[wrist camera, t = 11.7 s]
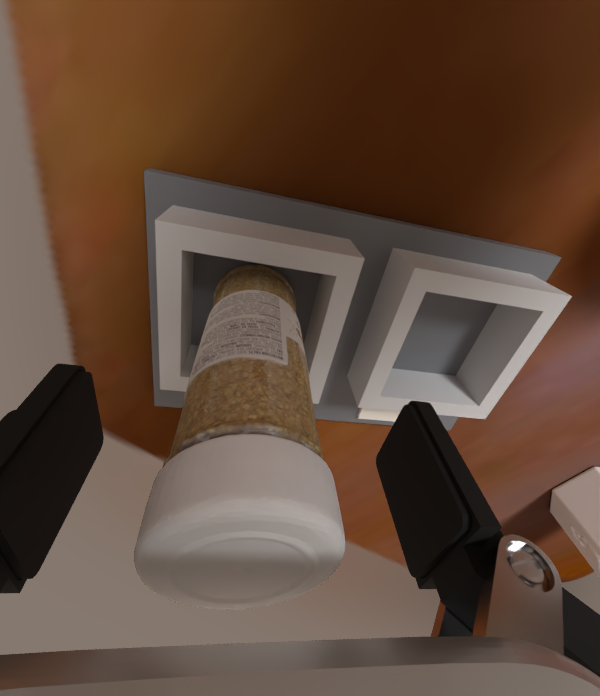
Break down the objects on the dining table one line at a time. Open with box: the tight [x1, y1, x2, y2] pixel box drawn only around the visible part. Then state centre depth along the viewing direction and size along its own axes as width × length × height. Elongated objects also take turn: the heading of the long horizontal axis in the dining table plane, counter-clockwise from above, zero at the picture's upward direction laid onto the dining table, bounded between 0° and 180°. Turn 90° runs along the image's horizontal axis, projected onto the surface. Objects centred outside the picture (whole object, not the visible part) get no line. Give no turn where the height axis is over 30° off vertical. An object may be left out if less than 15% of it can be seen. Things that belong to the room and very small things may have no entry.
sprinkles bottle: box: [134, 265, 345, 610], centre depth 12 cm, size 5×5×13 cm
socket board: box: [144, 168, 572, 430], centre depth 19 cm, size 14×22×4 cm, turn 78°
